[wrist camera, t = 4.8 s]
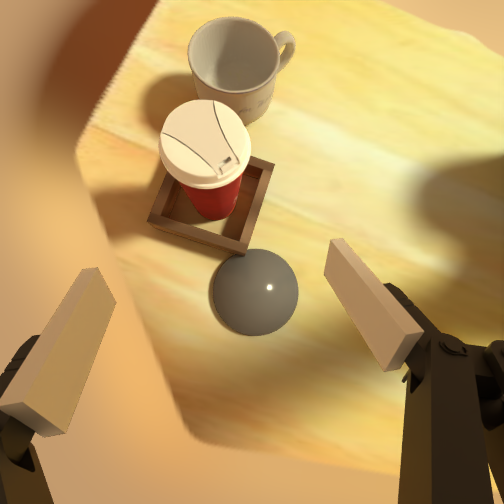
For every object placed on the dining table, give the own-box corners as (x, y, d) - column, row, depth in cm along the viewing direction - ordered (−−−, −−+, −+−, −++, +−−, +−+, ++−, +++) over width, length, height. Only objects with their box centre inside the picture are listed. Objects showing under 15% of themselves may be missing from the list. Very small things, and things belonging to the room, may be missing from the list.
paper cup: (254, 206, 33) (271, 147, 19) (209, 239, 32) (192, 200, 18) (220, 163, 34) (213, 75, 20) (174, 194, 32) (132, 122, 18)
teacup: (209, 144, 34) (202, 101, 26) (188, 79, 35) (175, 19, 27) (299, 123, 36) (318, 75, 28) (276, 61, 37) (288, -1, 29)
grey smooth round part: (229, 238, 32) (229, 237, 31) (306, 264, 32) (307, 263, 32) (201, 319, 30) (200, 320, 29) (283, 345, 30) (285, 347, 30)
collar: (187, 146, 33) (183, 132, 31) (271, 175, 34) (274, 164, 31) (154, 227, 31) (146, 221, 28) (244, 257, 32) (245, 253, 29)
